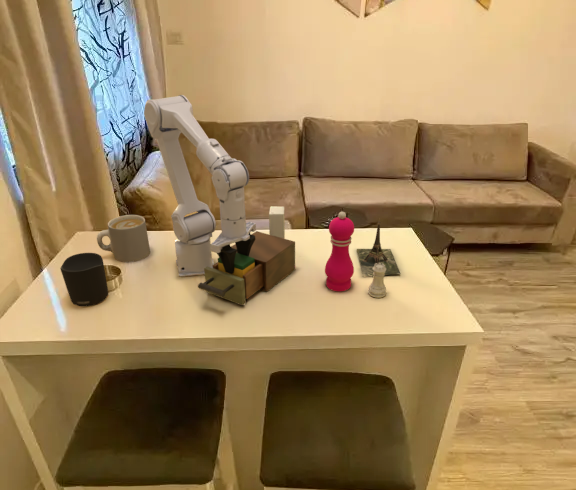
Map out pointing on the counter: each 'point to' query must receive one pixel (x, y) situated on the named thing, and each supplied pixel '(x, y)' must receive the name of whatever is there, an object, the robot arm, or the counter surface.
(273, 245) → the cabinet
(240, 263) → the sponge
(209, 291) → the drawer
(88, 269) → the black speaker
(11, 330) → the counter surface
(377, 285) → the rook chess piece
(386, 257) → the eiffel tower figurine
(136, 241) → the coffee mug
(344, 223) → the pepper mill
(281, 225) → the cosmetic box
